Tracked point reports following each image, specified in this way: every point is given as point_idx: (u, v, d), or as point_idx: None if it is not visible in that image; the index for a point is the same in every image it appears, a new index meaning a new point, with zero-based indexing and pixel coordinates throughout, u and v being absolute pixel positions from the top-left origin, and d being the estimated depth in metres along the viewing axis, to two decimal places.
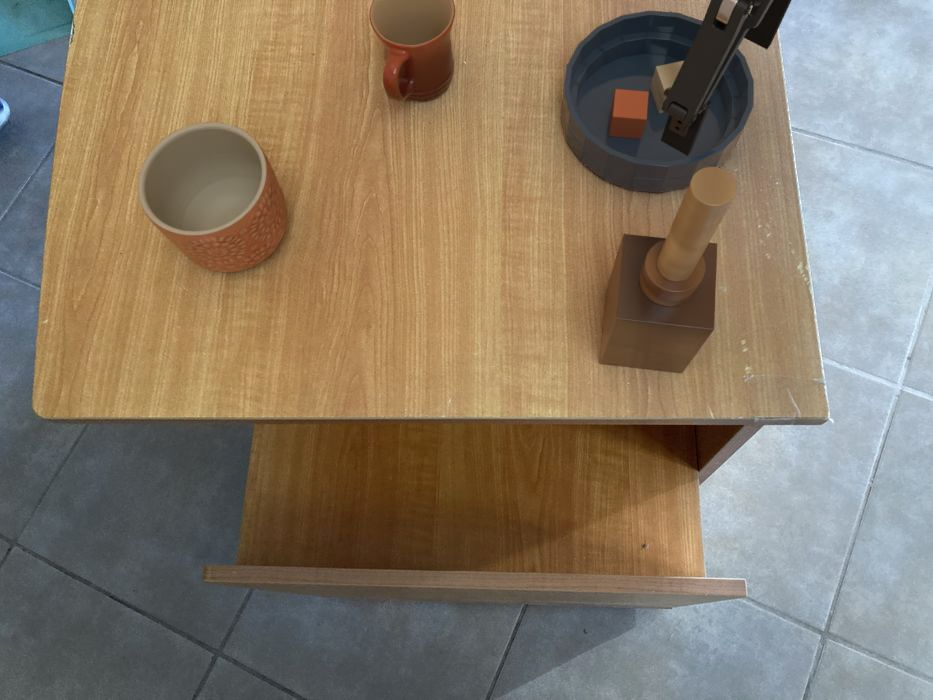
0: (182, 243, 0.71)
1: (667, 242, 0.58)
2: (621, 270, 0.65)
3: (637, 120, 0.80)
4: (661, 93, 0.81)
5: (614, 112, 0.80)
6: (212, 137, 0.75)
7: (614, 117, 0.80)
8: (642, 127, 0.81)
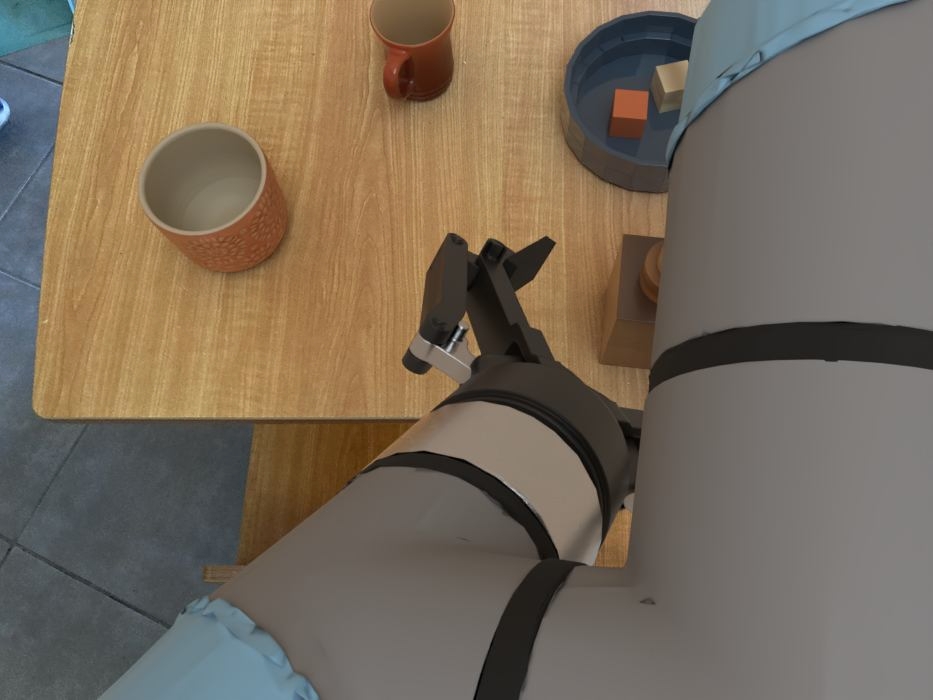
0: (182, 243, 0.71)
1: None
2: (621, 270, 0.65)
3: (637, 120, 0.80)
4: (661, 93, 0.81)
5: (614, 112, 0.80)
6: (212, 137, 0.75)
7: (614, 117, 0.80)
8: (642, 127, 0.81)
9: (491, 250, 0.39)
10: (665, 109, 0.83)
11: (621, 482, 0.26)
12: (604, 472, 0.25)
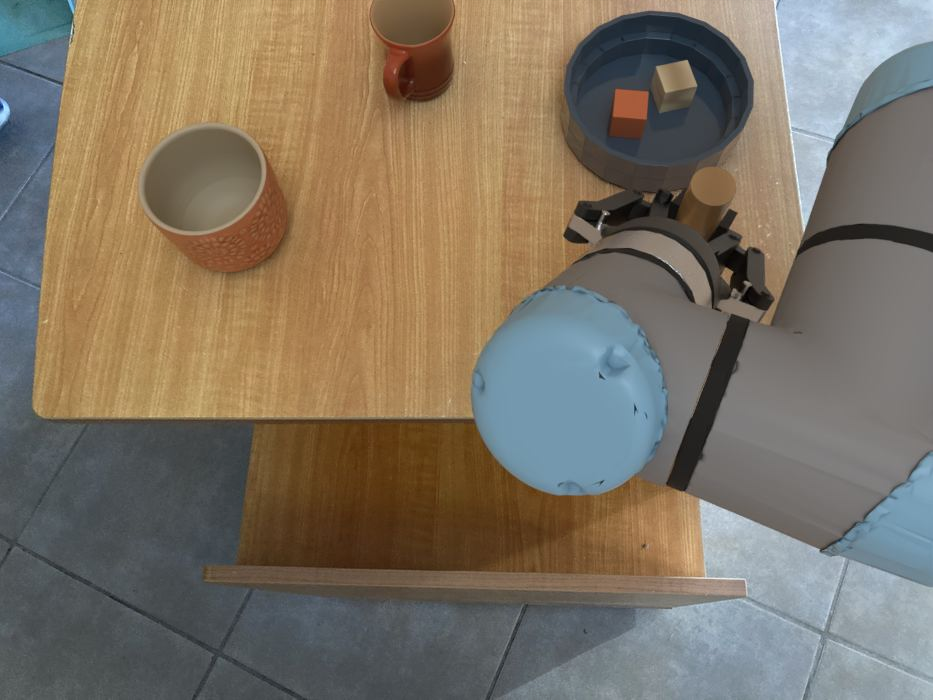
0: (182, 243, 0.71)
1: None
2: None
3: (637, 120, 0.80)
4: (661, 93, 0.81)
5: (614, 112, 0.80)
6: (212, 137, 0.75)
7: (614, 117, 0.80)
8: (642, 127, 0.81)
9: (661, 196, 0.55)
10: (665, 109, 0.83)
11: (717, 279, 0.41)
12: (707, 267, 0.39)
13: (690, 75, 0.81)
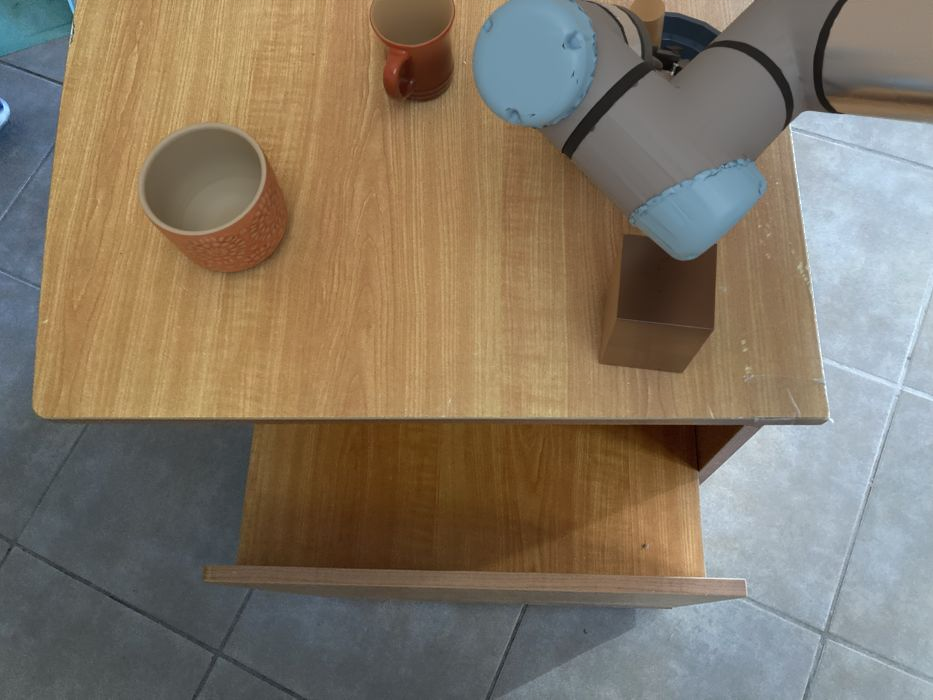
0: (182, 243, 0.71)
1: None
2: (621, 270, 0.65)
3: None
4: None
5: None
6: (212, 137, 0.75)
7: None
8: None
9: None
10: None
11: (648, 43, 0.58)
12: (639, 28, 0.56)
13: None
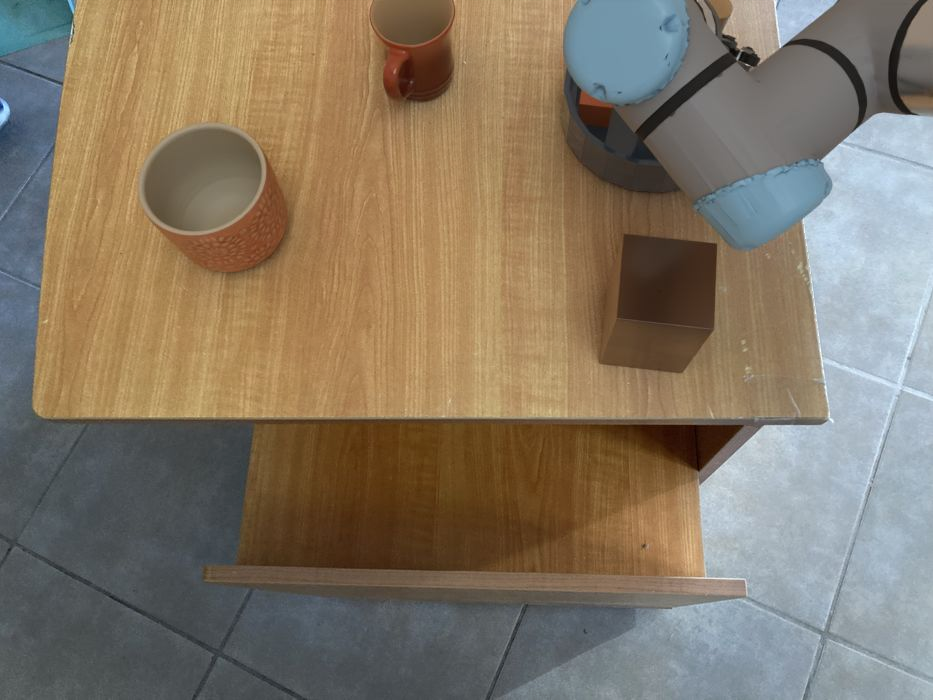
0: (182, 243, 0.71)
1: None
2: (621, 270, 0.65)
3: (603, 109, 0.80)
4: None
5: (581, 99, 0.80)
6: (212, 137, 0.75)
7: (580, 104, 0.80)
8: (608, 115, 0.81)
9: None
10: None
11: (719, 27, 0.58)
12: (712, 12, 0.57)
13: None
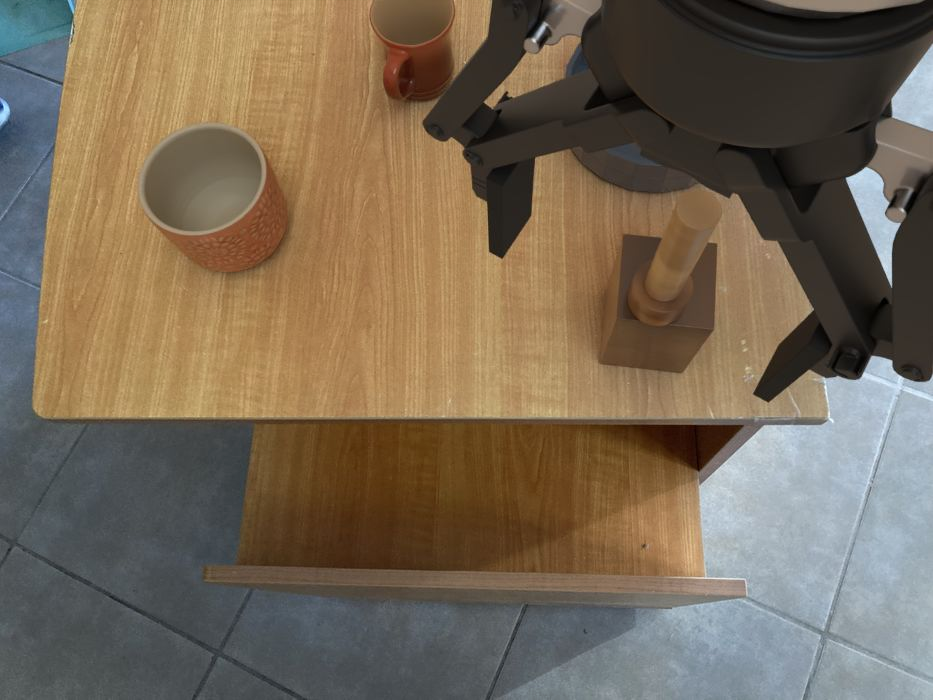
0: (182, 243, 0.71)
1: (660, 273, 0.57)
2: (621, 270, 0.65)
3: None
4: None
5: None
6: (212, 137, 0.75)
7: None
8: None
9: None
10: None
11: None
12: None
13: None
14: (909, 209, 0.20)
